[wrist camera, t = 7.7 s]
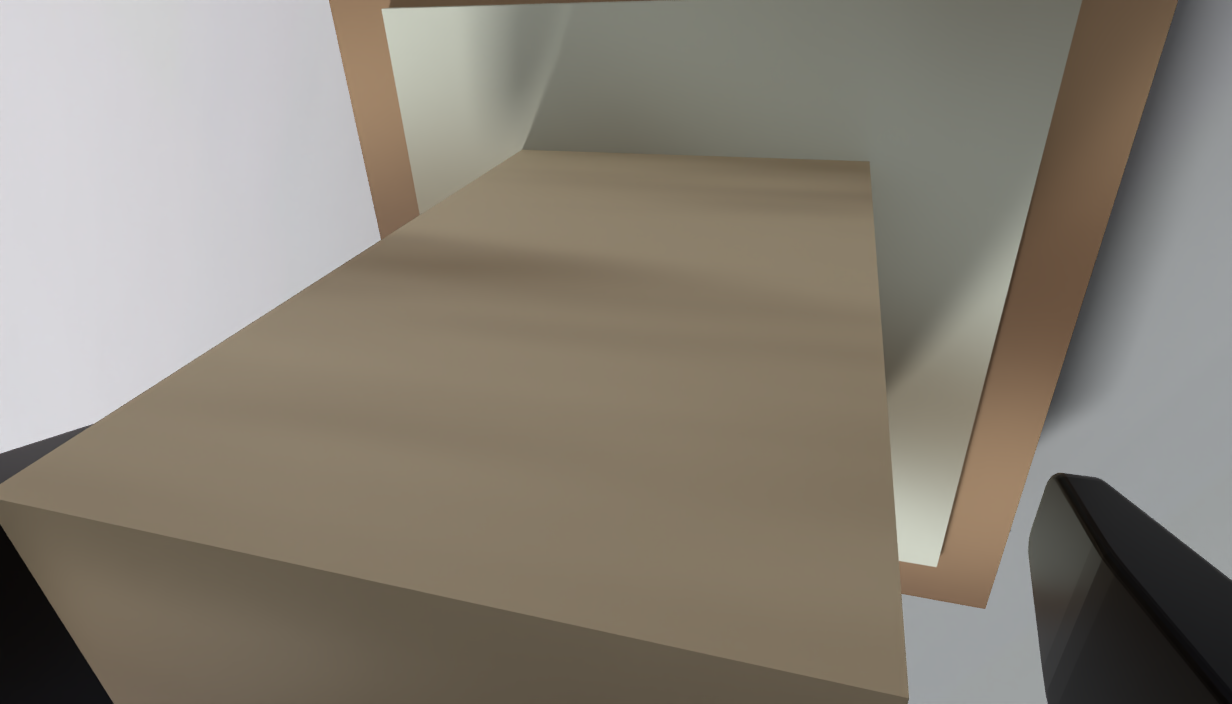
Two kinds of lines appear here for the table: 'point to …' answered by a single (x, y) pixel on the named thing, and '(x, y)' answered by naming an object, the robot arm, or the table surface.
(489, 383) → the oak block
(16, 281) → the table surface
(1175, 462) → the table surface
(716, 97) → the picture frame
